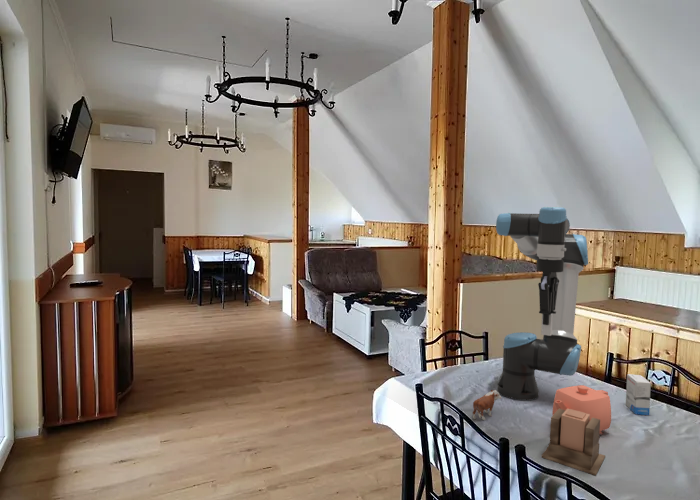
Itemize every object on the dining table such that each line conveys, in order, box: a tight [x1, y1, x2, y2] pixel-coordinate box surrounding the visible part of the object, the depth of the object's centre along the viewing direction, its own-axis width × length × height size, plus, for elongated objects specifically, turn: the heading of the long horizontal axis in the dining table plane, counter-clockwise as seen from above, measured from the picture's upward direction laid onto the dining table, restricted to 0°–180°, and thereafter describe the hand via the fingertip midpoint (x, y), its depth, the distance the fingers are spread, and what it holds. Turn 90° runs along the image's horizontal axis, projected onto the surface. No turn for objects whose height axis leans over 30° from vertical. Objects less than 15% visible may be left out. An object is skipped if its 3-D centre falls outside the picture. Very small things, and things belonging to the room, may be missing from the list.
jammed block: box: [560, 408, 590, 453], centre depth 130 cm, size 6×6×12 cm
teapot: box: [551, 384, 612, 435], centre depth 147 cm, size 22×13×14 cm, turn 112°
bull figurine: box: [472, 389, 502, 421], centre depth 156 cm, size 4×13×8 cm, turn 127°
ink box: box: [625, 373, 652, 416], centre depth 163 cm, size 9×5×12 cm, turn 168°
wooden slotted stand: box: [540, 409, 606, 477], centre depth 130 cm, size 14×12×12 cm
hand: (546, 334), depth 140 cm, fingers closed
